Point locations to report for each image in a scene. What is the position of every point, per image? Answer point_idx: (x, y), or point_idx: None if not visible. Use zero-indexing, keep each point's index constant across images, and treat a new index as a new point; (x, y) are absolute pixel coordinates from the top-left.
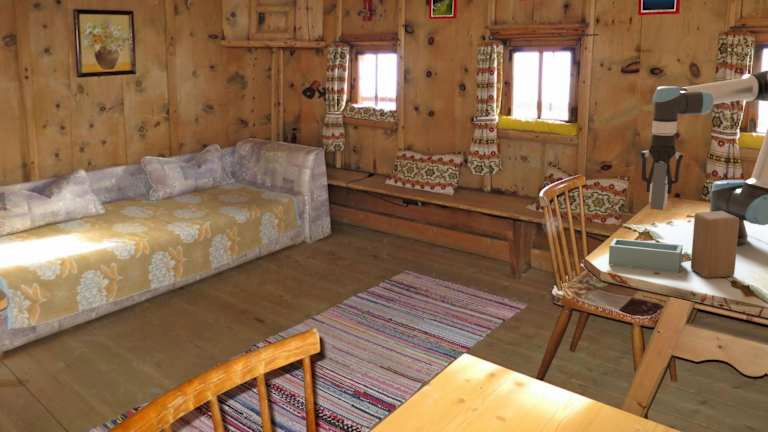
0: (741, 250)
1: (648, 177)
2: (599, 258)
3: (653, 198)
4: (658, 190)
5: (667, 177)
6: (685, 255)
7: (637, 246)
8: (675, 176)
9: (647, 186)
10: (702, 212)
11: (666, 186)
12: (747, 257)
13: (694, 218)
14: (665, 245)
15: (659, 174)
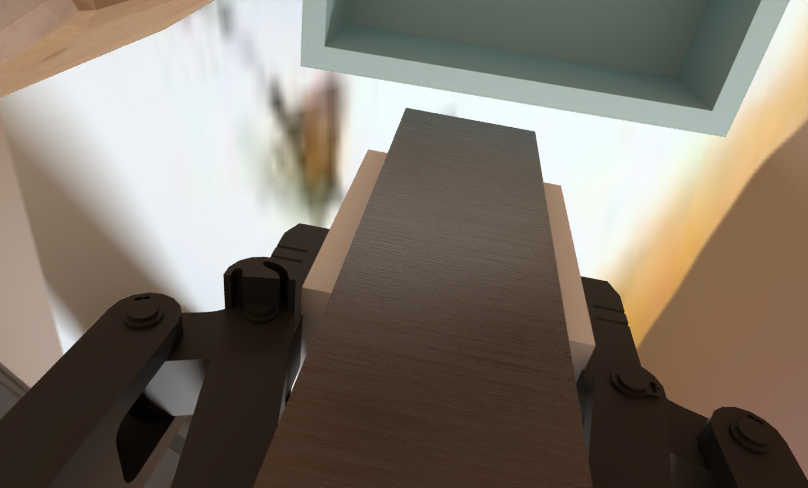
0: (112, 283)
1: (664, 452)
2: (778, 51)
3: (515, 182)
4: (455, 231)
5: (273, 400)
6: (316, 186)
7: (572, 78)
8: (96, 395)
9: (621, 335)
10: (4, 10)
11: (327, 272)
12: (72, 201)
13: (116, 1)
14: (403, 56)
15: (439, 457)
